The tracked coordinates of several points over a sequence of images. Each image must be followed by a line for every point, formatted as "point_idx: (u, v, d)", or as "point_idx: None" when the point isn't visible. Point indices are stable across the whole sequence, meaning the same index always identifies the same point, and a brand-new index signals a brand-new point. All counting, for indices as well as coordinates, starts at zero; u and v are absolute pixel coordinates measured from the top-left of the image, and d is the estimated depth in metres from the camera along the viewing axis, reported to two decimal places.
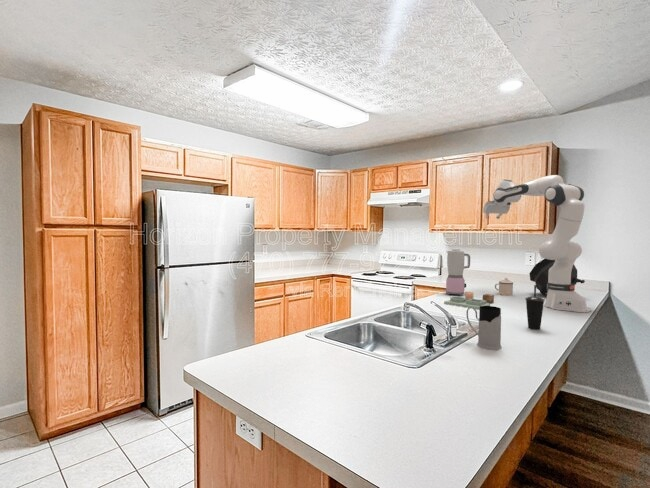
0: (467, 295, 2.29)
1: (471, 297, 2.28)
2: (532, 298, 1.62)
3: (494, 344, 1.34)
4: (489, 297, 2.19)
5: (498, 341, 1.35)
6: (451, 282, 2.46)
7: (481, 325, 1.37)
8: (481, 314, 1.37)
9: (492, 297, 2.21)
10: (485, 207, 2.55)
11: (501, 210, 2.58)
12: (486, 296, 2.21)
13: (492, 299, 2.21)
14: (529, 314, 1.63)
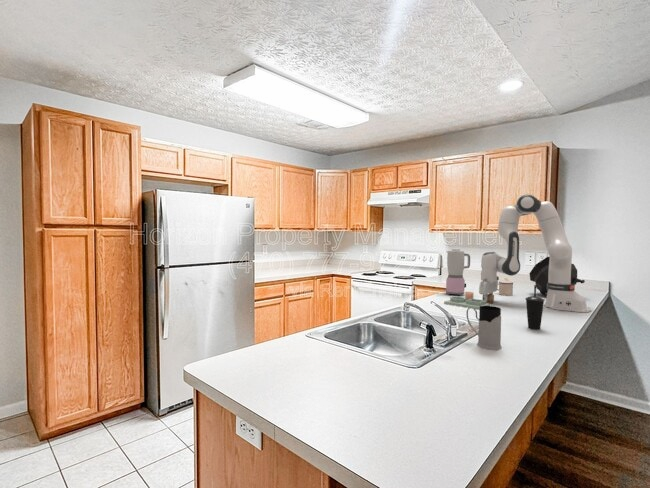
0: (467, 295, 2.29)
1: (471, 297, 2.28)
2: (532, 298, 1.62)
3: (494, 344, 1.34)
4: (489, 297, 2.19)
5: (498, 341, 1.35)
6: (451, 282, 2.46)
7: (481, 325, 1.37)
8: (481, 314, 1.37)
9: (492, 297, 2.21)
10: (482, 288, 2.15)
11: (493, 288, 2.23)
12: None
13: (492, 299, 2.21)
14: (529, 314, 1.63)
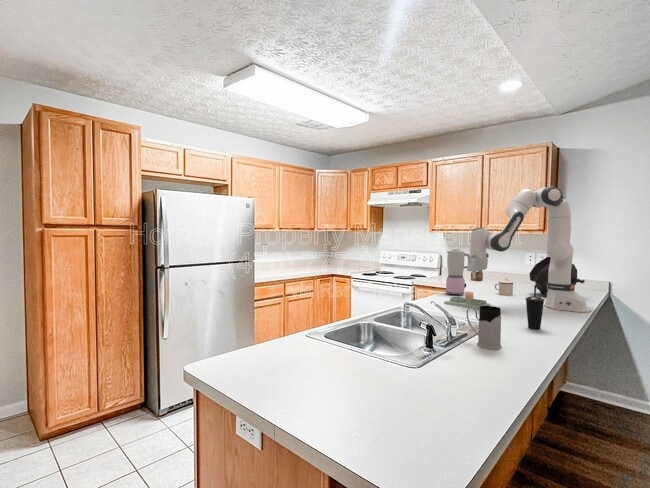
0: (467, 295, 2.29)
1: (471, 297, 2.28)
2: (532, 298, 1.62)
3: (494, 344, 1.34)
4: (477, 274, 2.09)
5: (498, 341, 1.35)
6: (451, 282, 2.46)
7: (481, 325, 1.37)
8: (481, 314, 1.37)
9: (481, 275, 2.10)
10: (470, 264, 2.04)
11: (482, 265, 2.13)
12: None
13: (481, 277, 2.10)
14: (529, 314, 1.63)
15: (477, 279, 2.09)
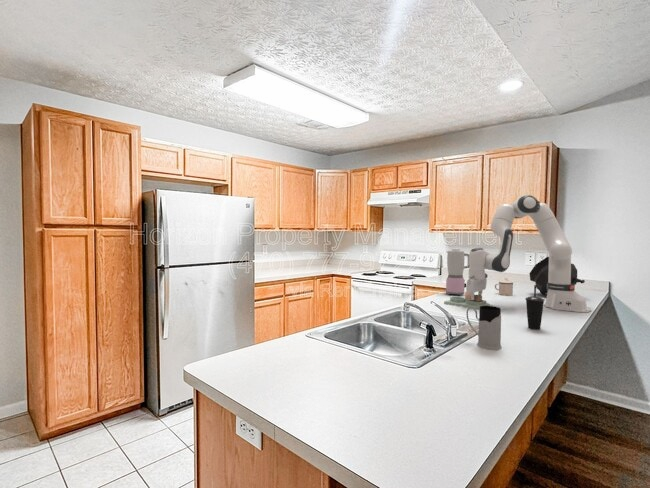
0: (467, 295, 2.29)
1: None
2: (532, 298, 1.62)
3: (494, 344, 1.34)
4: (477, 298, 2.08)
5: (498, 341, 1.35)
6: (451, 282, 2.46)
7: (481, 325, 1.37)
8: (481, 314, 1.37)
9: (480, 298, 2.09)
10: (469, 286, 2.03)
11: (481, 286, 2.12)
12: None
13: (480, 300, 2.09)
14: (529, 314, 1.63)
15: None
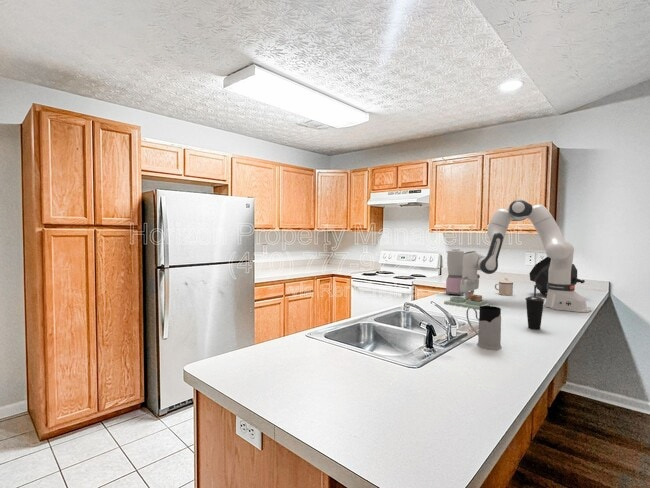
0: None
1: None
2: (532, 298, 1.62)
3: (494, 344, 1.34)
4: (477, 298, 2.08)
5: (498, 341, 1.35)
6: (451, 282, 2.46)
7: (481, 325, 1.37)
8: (481, 314, 1.37)
9: (480, 298, 2.09)
10: (463, 285, 2.24)
11: (474, 285, 2.32)
12: (474, 297, 2.09)
13: (480, 300, 2.09)
14: (529, 314, 1.63)
15: None
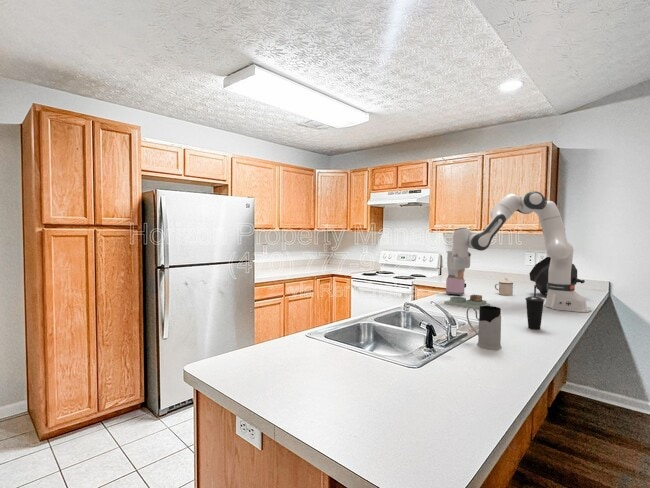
0: None
1: (461, 275, 2.18)
2: (532, 298, 1.62)
3: (494, 344, 1.34)
4: (477, 298, 2.08)
5: (498, 341, 1.35)
6: (451, 282, 2.46)
7: (481, 325, 1.37)
8: (481, 314, 1.37)
9: (480, 298, 2.09)
10: (452, 263, 2.13)
11: (465, 264, 2.21)
12: (474, 297, 2.09)
13: (480, 300, 2.09)
14: (529, 314, 1.63)
15: None
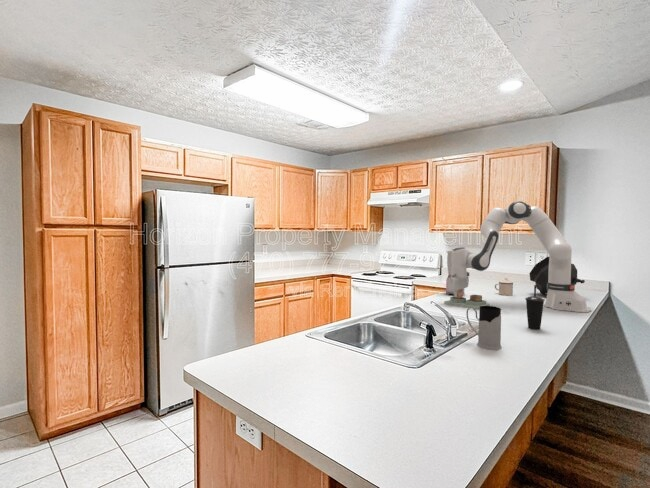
0: None
1: (460, 295, 2.16)
2: (532, 298, 1.62)
3: (494, 344, 1.34)
4: (477, 298, 2.08)
5: (498, 341, 1.35)
6: None
7: (481, 325, 1.37)
8: (481, 314, 1.37)
9: (480, 298, 2.09)
10: (451, 283, 2.11)
11: (463, 284, 2.20)
12: (474, 297, 2.09)
13: (480, 300, 2.09)
14: (529, 314, 1.63)
15: None
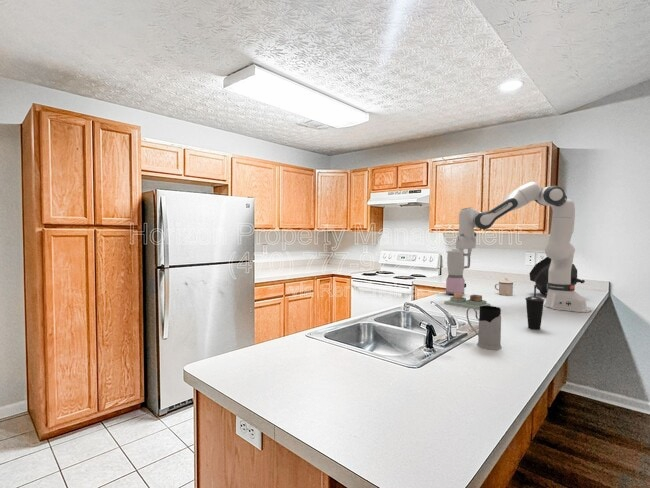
0: (456, 296, 2.17)
1: (460, 298, 2.16)
2: (532, 298, 1.62)
3: (494, 344, 1.34)
4: (477, 298, 2.08)
5: (498, 341, 1.35)
6: (451, 282, 2.46)
7: (481, 325, 1.37)
8: (481, 314, 1.37)
9: (480, 298, 2.09)
10: (459, 242, 2.13)
11: (471, 244, 2.22)
12: (474, 297, 2.09)
13: (480, 300, 2.09)
14: (529, 314, 1.63)
15: None
